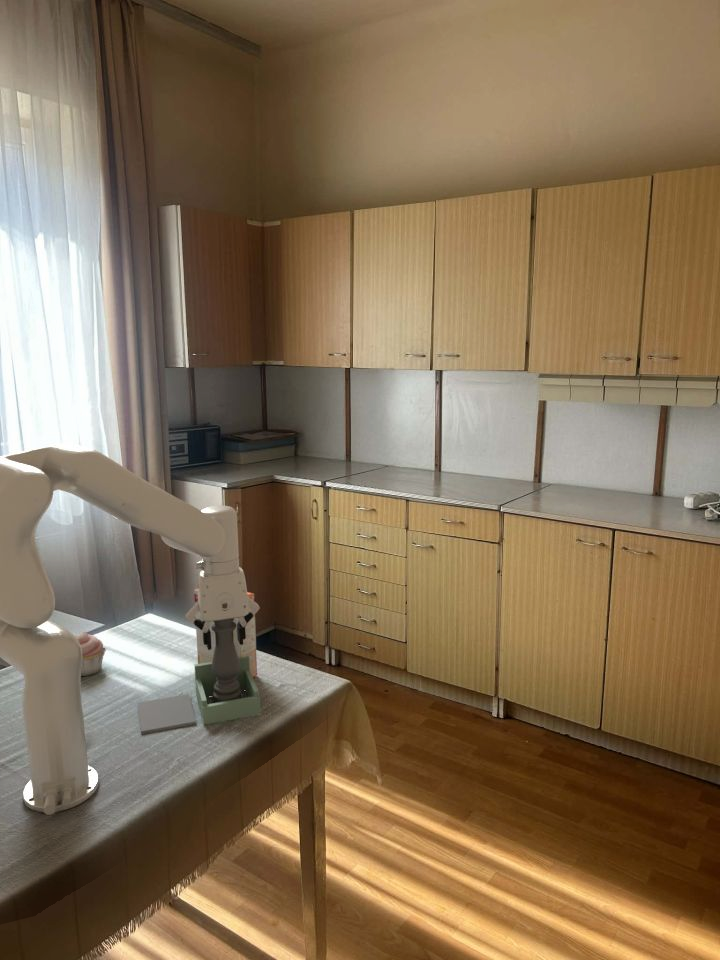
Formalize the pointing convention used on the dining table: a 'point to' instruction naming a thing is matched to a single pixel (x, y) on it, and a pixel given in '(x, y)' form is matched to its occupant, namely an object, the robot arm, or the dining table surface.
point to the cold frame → (227, 708)
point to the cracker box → (242, 650)
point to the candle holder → (225, 661)
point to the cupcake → (90, 653)
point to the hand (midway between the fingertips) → (224, 644)
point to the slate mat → (165, 713)
